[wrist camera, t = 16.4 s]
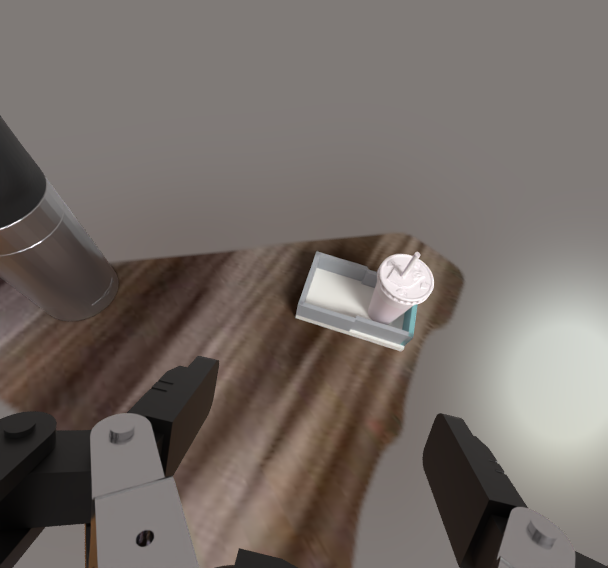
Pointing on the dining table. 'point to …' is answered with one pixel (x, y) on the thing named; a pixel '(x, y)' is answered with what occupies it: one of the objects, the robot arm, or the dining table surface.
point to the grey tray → (349, 303)
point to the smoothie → (399, 287)
